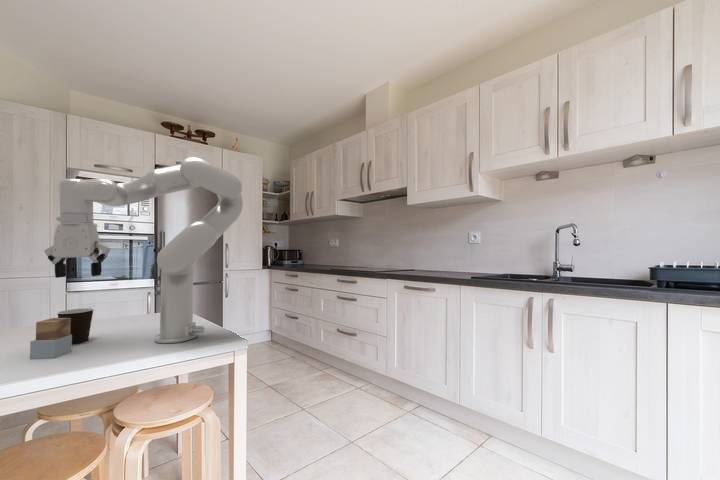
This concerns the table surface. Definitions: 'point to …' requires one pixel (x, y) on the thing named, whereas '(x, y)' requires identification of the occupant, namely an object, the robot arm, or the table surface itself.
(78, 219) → the robot arm
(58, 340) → the slate block
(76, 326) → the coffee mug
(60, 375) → the table surface
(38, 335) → the walnut block
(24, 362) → the table surface
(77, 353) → the table surface
